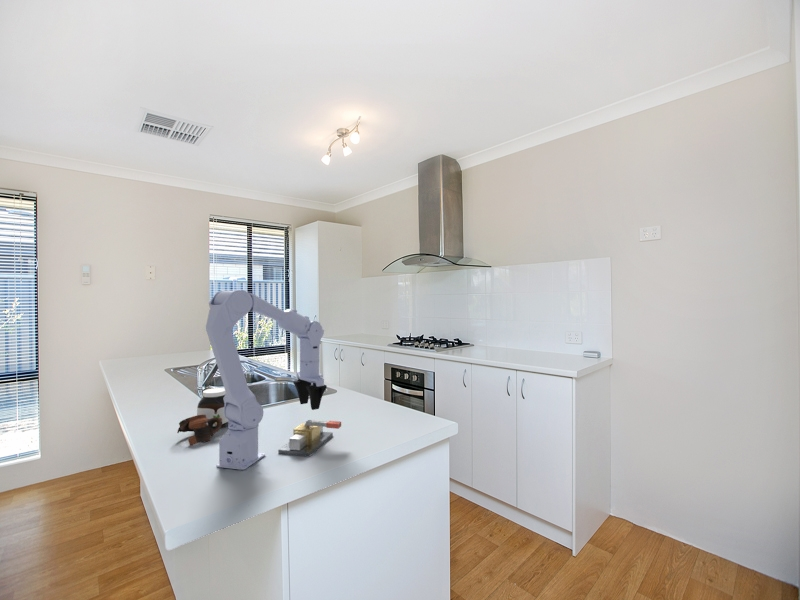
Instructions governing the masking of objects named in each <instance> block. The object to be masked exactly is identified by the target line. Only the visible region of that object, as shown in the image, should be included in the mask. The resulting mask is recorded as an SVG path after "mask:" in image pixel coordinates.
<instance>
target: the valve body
mask: <svg viewBox="0 0 800 600" xmlns="http://www.w3.org/2000/svg"><path fill="white" fill-rule="evenodd" d="M305 424H306V422H305V423H304V422H302V423H300V424H299V425H298V426H296V427H295V428H293V436H291V437H289V439H288V442H287V443H285V444H284V445H283V446H281V447H280V448H278V450H277V451H278V454H281V455H290V456H301V457H311V456H312V455H313V454H314V453H315V452H316V451H317V450H319V449H320V448H321V447H322V446H323V445H324V444H325V443H326V442H327V441H329V440H330V439H331V438H332V437H333V433H334V432H331V431H324V427H322V426H309V427H305Z"/></svg>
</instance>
